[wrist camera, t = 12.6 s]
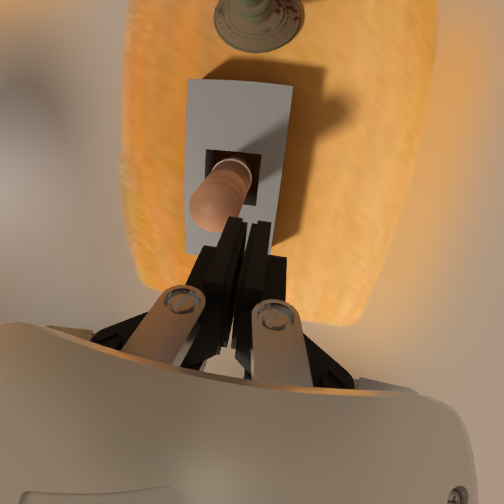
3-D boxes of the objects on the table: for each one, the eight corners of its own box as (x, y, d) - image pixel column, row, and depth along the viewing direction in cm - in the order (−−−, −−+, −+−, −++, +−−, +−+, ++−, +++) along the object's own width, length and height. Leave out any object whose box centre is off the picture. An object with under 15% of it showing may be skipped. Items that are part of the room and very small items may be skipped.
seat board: (199, 80, 27) (188, 79, 23) (292, 87, 26) (293, 86, 23) (194, 237, 37) (185, 253, 34) (270, 247, 37) (268, 265, 34)
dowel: (220, 148, 31) (187, 180, 21) (257, 152, 31) (243, 186, 21) (218, 182, 33) (187, 229, 23) (253, 186, 33) (238, 236, 23)
